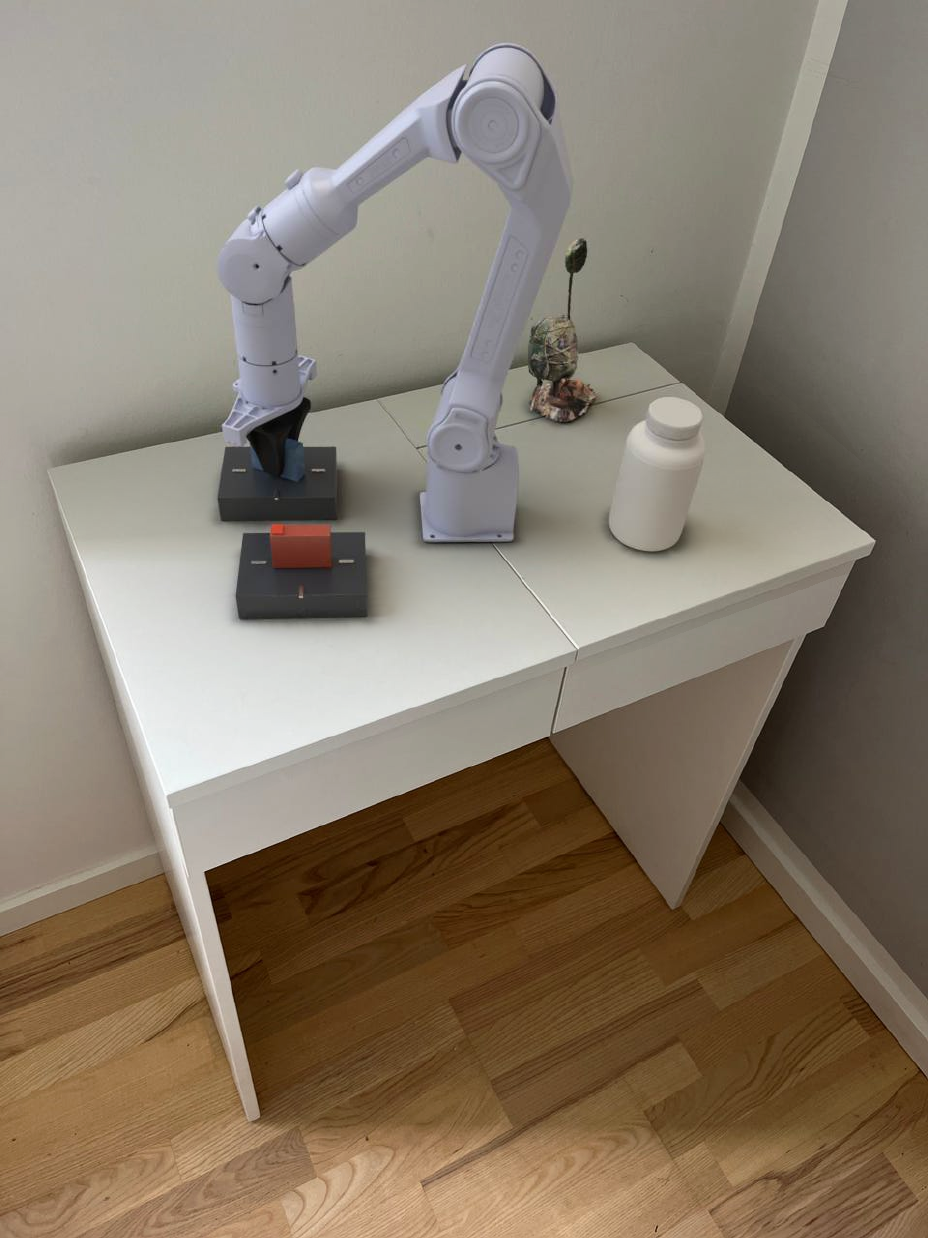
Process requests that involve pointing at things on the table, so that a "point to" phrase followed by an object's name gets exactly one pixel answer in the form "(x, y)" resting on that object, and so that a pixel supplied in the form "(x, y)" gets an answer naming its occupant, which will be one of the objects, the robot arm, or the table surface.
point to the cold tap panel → (278, 488)
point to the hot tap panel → (302, 581)
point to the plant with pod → (559, 356)
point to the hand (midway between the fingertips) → (278, 466)
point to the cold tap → (288, 460)
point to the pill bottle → (658, 476)
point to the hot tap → (301, 546)
